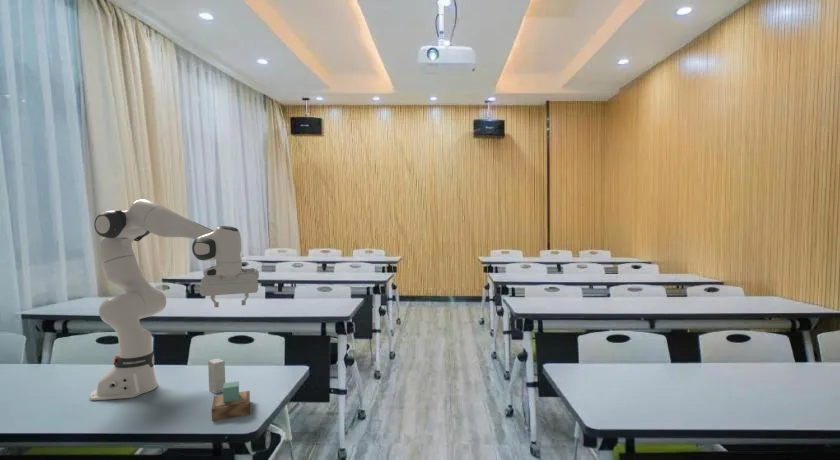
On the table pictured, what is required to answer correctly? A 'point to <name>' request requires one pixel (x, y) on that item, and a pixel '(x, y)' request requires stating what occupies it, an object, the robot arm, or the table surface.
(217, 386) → the skincare box
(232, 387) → the teal cube
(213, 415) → the tray
